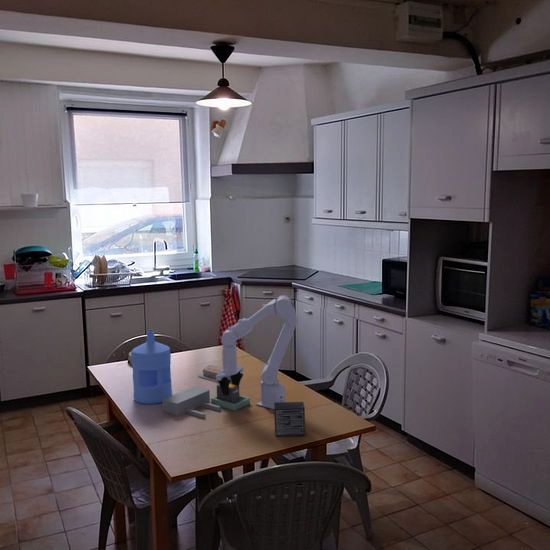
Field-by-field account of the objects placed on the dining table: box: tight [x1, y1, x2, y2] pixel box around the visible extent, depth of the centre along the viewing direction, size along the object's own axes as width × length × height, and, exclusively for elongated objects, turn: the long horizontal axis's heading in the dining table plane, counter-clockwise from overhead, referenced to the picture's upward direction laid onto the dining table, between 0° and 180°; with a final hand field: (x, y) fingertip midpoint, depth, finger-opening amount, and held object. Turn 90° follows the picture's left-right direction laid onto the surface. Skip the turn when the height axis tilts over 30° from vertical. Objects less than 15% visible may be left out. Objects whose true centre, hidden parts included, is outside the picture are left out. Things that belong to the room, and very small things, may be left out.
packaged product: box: [197, 364, 232, 384], centre depth 263 cm, size 18×5×10 cm
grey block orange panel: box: [216, 383, 240, 404], centre depth 231 cm, size 8×4×7 cm, turn 54°
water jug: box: [131, 330, 173, 405], centre depth 237 cm, size 16×16×28 cm
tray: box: [210, 394, 251, 412], centre depth 231 cm, size 13×9×2 cm
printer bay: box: [162, 386, 222, 419], centre depth 226 cm, size 18×18×5 cm
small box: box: [273, 401, 306, 438], centre depth 203 cm, size 11×6×10 cm, turn 92°
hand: (230, 393), depth 230 cm, fingers open, 5 cm apart
